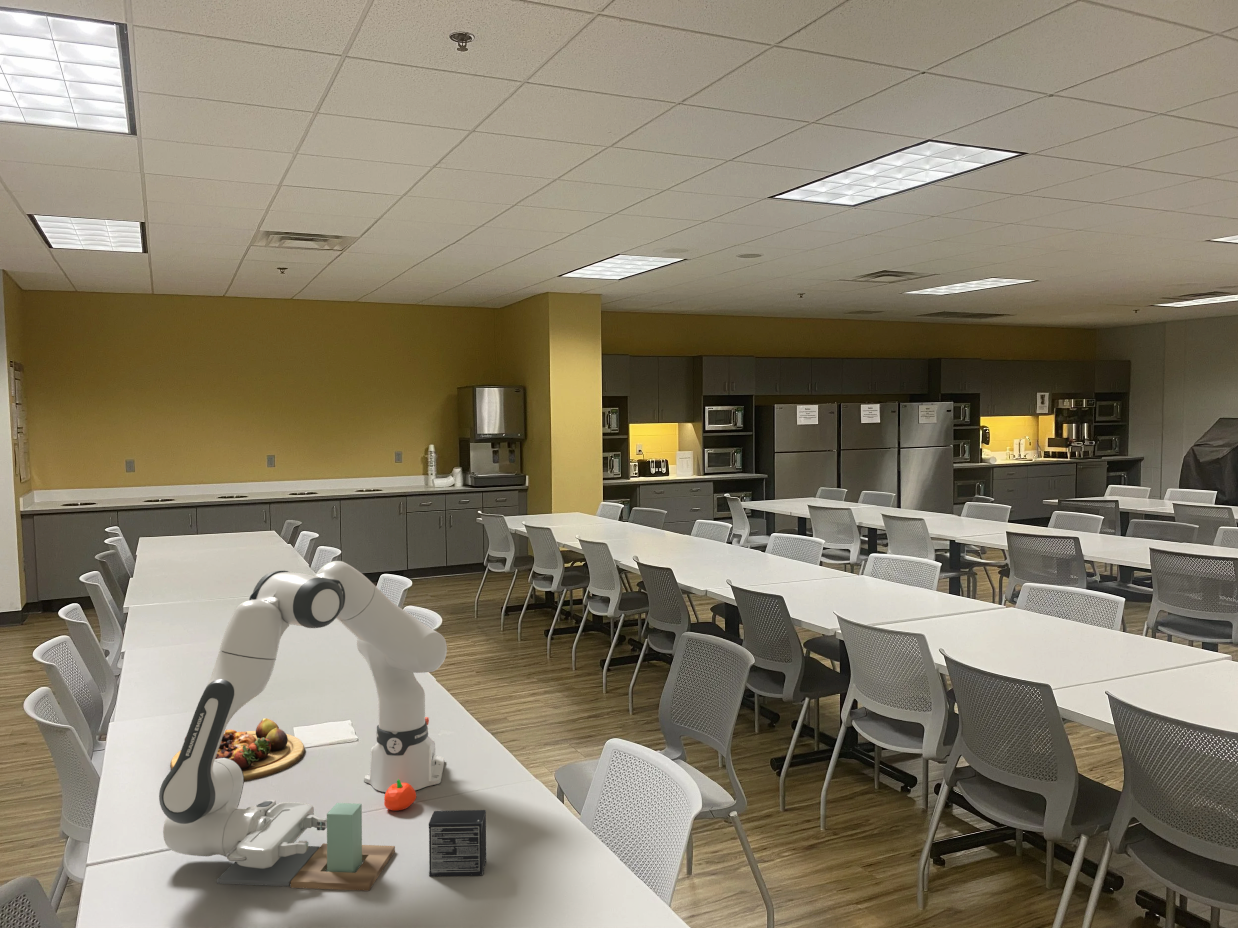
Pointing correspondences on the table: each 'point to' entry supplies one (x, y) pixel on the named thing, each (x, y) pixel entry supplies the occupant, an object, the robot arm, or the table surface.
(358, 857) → the green block
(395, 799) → the pumpkin
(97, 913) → the table surface
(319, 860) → the pocket board
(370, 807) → the table surface
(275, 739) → the wooden plate with food
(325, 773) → the table surface
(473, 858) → the small box
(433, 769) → the robot arm
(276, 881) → the rubber mat
